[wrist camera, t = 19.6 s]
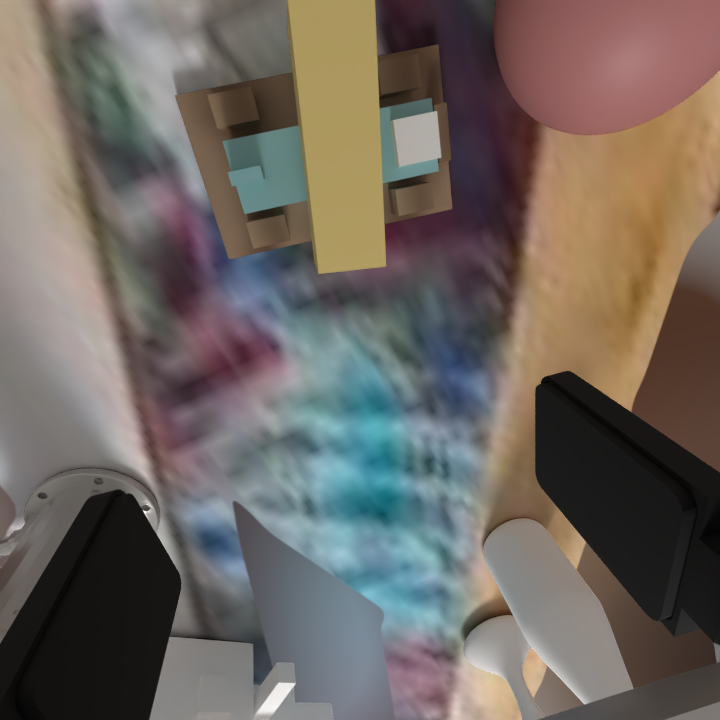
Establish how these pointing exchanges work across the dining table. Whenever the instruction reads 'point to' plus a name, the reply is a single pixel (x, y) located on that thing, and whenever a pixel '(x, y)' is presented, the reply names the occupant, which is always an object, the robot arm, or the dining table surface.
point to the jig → (278, 111)
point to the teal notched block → (285, 164)
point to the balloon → (605, 58)
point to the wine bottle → (556, 609)
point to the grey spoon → (503, 658)
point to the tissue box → (226, 685)
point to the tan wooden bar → (339, 129)
